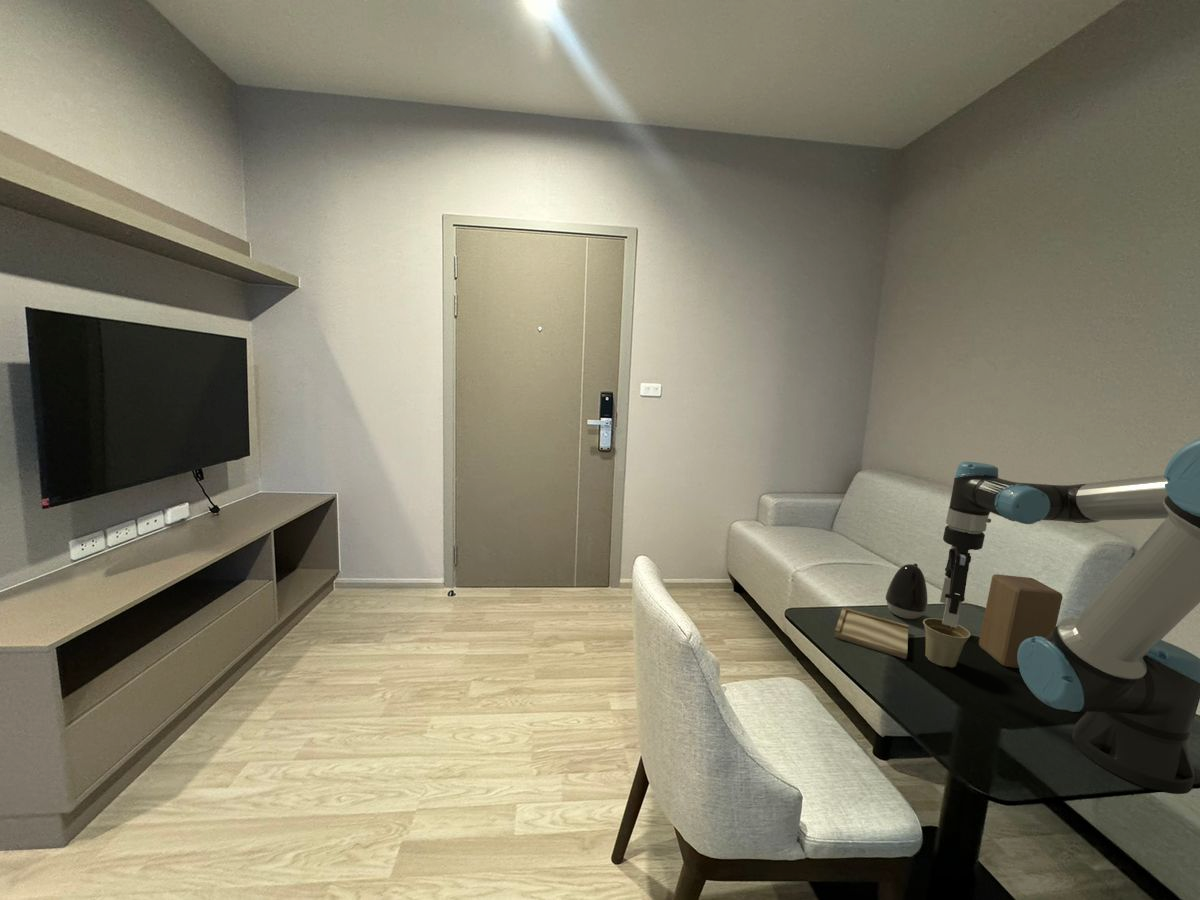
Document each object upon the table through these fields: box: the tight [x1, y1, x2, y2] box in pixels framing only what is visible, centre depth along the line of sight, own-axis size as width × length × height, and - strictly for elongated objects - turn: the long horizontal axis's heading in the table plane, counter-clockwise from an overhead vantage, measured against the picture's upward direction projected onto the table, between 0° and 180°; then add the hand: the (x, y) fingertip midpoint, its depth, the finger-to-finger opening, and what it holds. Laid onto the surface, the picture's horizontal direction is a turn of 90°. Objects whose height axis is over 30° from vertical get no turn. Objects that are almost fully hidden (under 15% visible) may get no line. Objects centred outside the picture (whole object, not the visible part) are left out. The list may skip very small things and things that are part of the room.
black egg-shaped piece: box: [885, 563, 928, 620], centre depth 143 cm, size 10×10×15 cm
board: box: [833, 606, 909, 660], centre depth 131 cm, size 16×16×2 cm
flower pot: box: [922, 617, 972, 669], centre depth 120 cm, size 9×9×9 cm
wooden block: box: [978, 573, 1063, 669], centre depth 122 cm, size 10×10×20 cm
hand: (947, 613), depth 119 cm, fingers open, 13 cm apart
